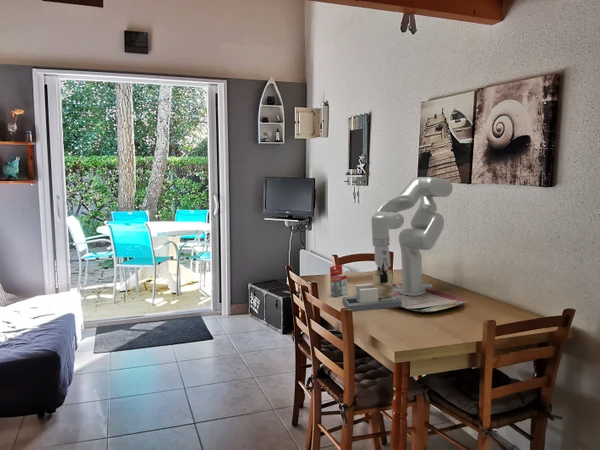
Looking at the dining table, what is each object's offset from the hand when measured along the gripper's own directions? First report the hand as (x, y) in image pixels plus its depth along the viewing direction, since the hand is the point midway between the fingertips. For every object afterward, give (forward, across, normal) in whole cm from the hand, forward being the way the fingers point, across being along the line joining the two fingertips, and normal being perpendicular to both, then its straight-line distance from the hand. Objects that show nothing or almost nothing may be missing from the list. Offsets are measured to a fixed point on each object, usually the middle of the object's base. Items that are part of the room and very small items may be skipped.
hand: (382, 281), depth 218 cm
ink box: (+11, +20, +17) cm, 28 cm away
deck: (+10, 0, +6) cm, 12 cm away
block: (+7, 0, 0) cm, 7 cm away
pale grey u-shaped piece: (+8, 0, +8) cm, 11 cm away
